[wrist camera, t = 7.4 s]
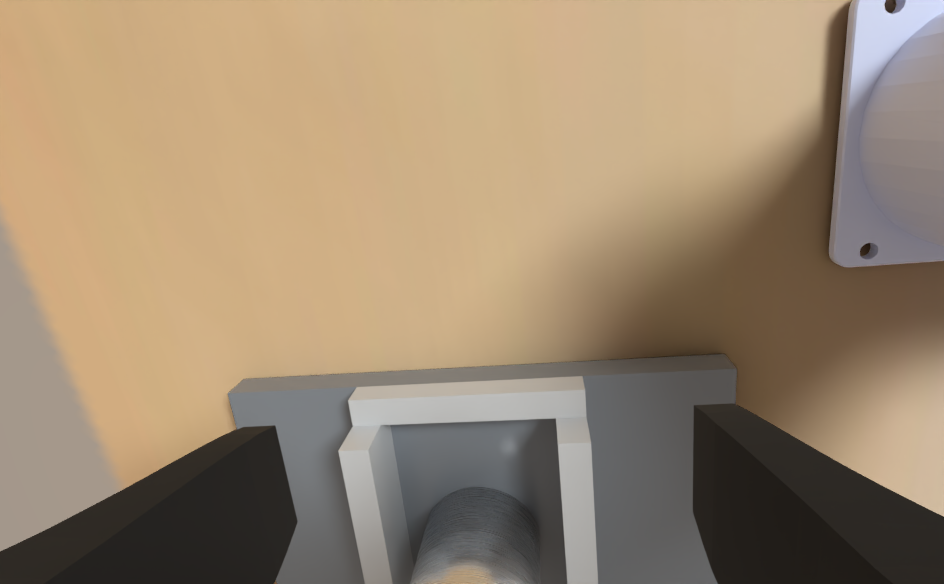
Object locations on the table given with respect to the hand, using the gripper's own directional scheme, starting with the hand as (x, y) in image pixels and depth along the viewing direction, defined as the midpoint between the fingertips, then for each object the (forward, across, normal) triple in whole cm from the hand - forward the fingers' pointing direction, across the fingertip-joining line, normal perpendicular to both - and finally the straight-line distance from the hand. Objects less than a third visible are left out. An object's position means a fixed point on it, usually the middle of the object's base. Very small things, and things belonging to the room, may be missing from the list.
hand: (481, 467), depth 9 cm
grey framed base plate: (+10, +2, +10) cm, 14 cm away
